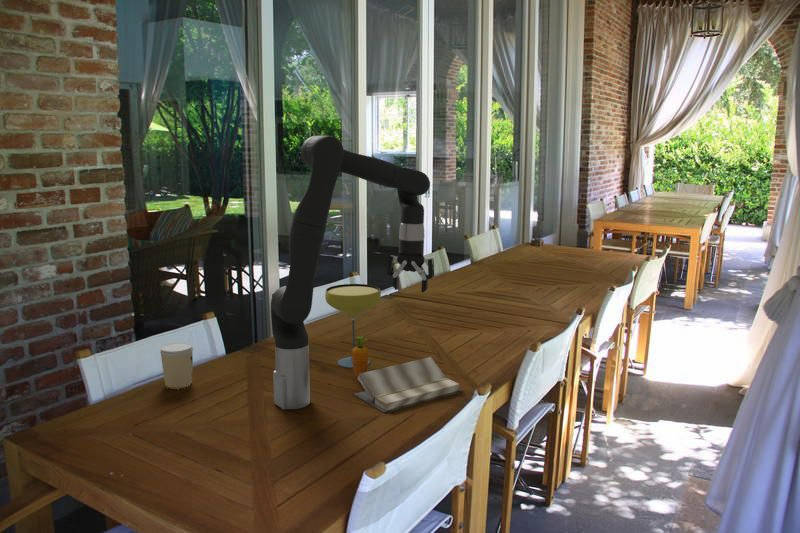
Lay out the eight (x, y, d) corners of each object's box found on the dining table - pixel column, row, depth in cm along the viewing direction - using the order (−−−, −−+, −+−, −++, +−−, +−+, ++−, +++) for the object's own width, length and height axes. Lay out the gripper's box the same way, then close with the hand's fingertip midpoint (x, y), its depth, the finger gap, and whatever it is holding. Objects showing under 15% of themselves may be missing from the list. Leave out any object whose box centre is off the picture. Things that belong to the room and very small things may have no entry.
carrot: (360, 378, 207) (359, 332, 204) (371, 382, 204) (371, 335, 201) (348, 383, 203) (348, 335, 200) (360, 386, 200) (360, 338, 197)
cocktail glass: (348, 376, 209) (347, 298, 204) (315, 361, 223) (314, 288, 218) (392, 363, 221) (392, 290, 216) (358, 350, 234) (357, 281, 230)
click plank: (372, 401, 187) (374, 396, 186) (357, 378, 193) (359, 373, 191) (444, 382, 202) (446, 377, 201) (428, 361, 207) (430, 356, 206)
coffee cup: (200, 384, 202) (198, 346, 200) (172, 393, 195) (169, 353, 193) (185, 377, 208) (182, 340, 206) (156, 385, 201) (154, 347, 199)
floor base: (384, 413, 181) (384, 404, 180) (353, 395, 194) (353, 386, 193) (462, 391, 197) (463, 382, 196) (429, 375, 209) (429, 368, 209)
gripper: (385, 237, 199) (384, 291, 202) (431, 241, 195) (429, 295, 198) (392, 235, 206) (391, 286, 209) (437, 238, 202) (435, 290, 205)
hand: (410, 290), depth 203 cm, fingers open, 8 cm apart
